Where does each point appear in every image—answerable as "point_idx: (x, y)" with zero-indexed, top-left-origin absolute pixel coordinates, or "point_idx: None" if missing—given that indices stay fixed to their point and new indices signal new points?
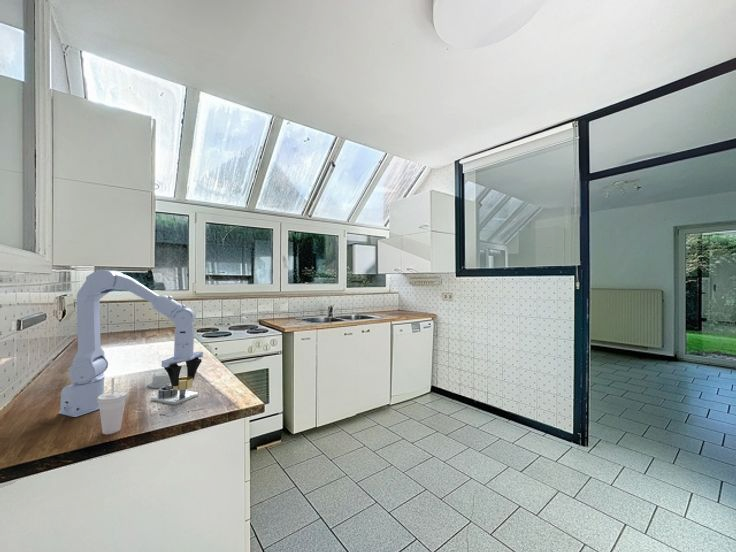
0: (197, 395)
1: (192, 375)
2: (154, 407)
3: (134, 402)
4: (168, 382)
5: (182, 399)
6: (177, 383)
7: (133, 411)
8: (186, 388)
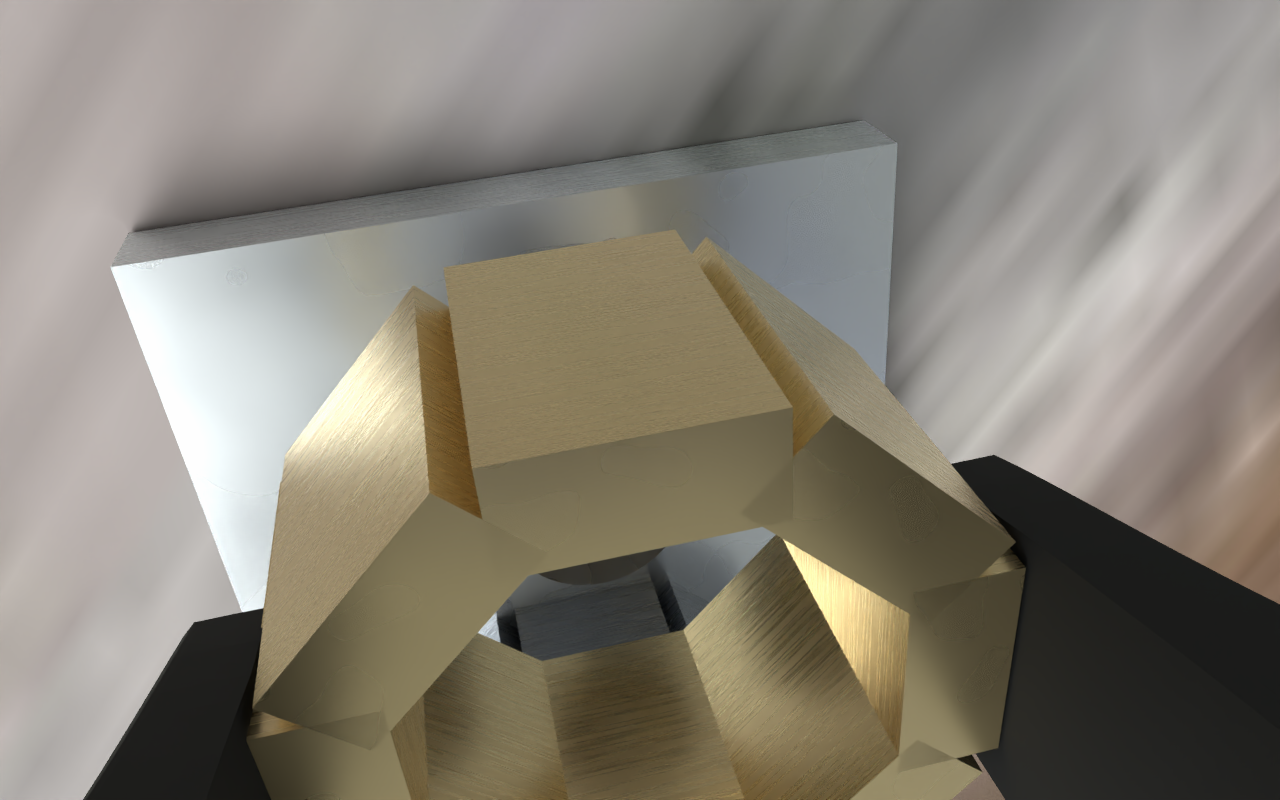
0: (160, 234)
1: (240, 796)
2: (1069, 372)
3: (977, 789)
4: None
5: (683, 176)
6: (1031, 498)
7: (1267, 477)
8: (686, 252)
